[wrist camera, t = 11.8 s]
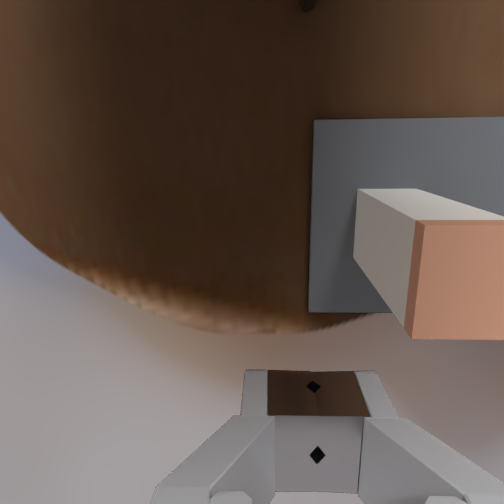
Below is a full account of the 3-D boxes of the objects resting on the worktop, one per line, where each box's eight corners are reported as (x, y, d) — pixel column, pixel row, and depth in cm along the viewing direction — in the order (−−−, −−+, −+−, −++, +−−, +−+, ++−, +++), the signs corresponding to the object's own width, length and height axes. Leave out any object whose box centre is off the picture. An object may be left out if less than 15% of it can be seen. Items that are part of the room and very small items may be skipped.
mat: (588, 115, 25) (595, 115, 25) (545, 310, 29) (551, 314, 28) (313, 120, 26) (314, 119, 25) (307, 308, 30) (308, 312, 29)
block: (415, 188, 26) (529, 224, 15) (408, 257, 28) (507, 340, 16) (357, 188, 27) (425, 225, 15) (353, 257, 28) (411, 338, 16)
